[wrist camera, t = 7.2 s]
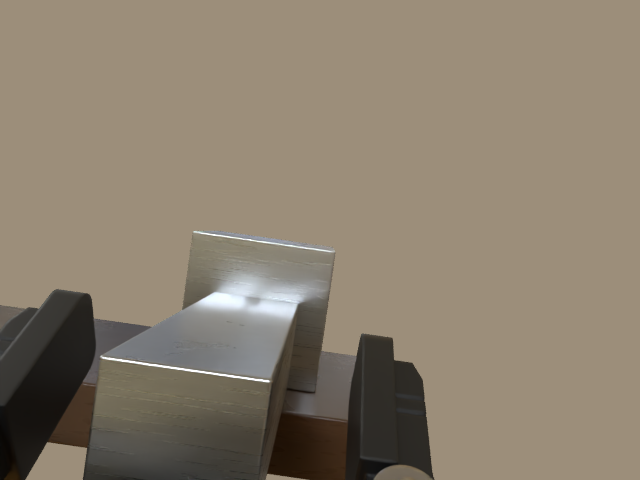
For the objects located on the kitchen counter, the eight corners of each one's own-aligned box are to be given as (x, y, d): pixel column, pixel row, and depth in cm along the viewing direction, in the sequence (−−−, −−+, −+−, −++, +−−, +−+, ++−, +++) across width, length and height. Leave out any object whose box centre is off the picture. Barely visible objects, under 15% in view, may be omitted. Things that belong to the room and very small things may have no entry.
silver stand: (317, 359, 26) (332, 246, 26) (306, 561, 10) (348, 271, 10) (204, 343, 26) (220, 230, 26) (17, 520, 10) (56, 229, 10)
